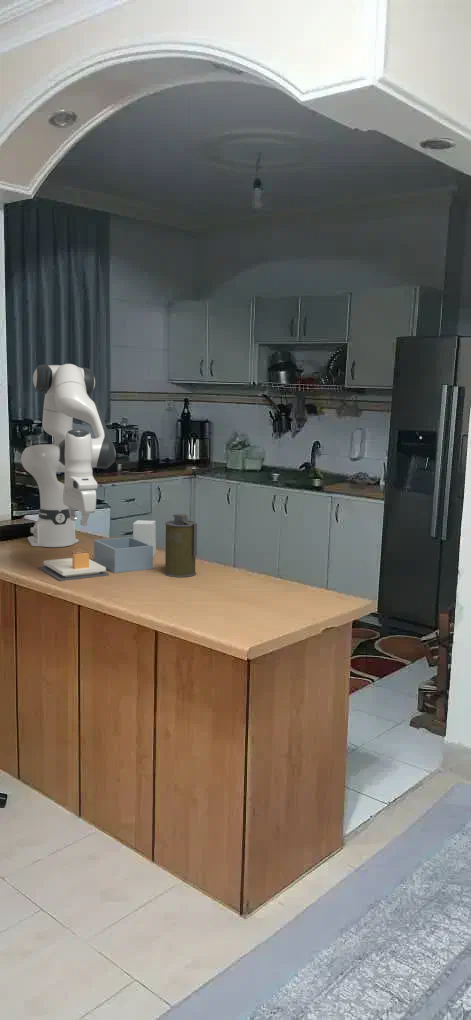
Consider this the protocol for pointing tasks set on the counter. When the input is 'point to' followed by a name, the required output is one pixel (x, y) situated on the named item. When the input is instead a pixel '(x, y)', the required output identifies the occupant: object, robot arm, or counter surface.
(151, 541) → the supplement box
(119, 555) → the grey storage box
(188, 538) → the canister
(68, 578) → the mat
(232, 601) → the counter surface
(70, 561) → the lid
